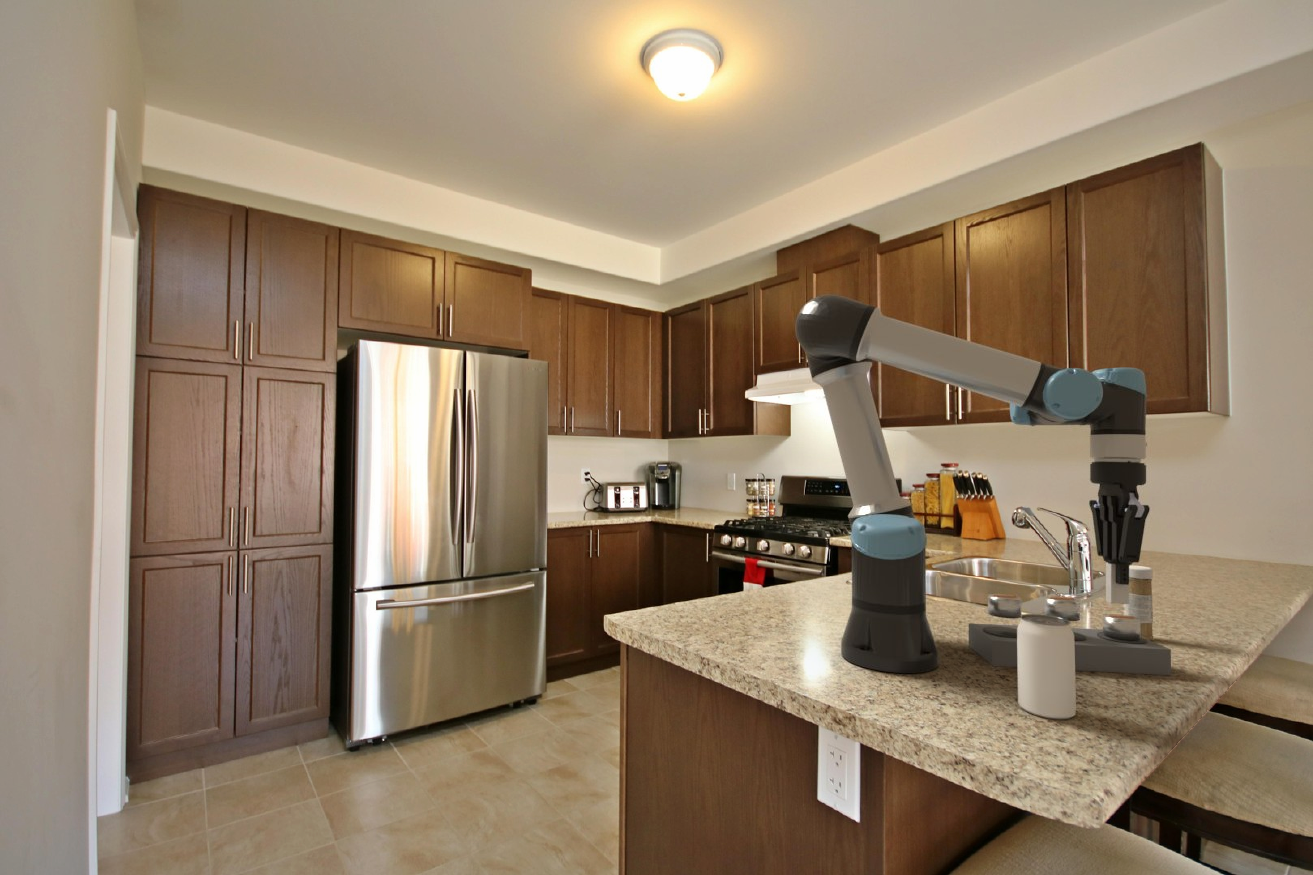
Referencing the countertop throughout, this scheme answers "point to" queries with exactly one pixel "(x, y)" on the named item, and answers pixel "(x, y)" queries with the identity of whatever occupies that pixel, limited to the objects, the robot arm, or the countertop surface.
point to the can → (1046, 666)
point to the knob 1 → (1004, 606)
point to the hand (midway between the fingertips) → (1117, 602)
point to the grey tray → (1077, 650)
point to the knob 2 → (1121, 626)
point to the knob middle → (1062, 607)
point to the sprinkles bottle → (1141, 598)
